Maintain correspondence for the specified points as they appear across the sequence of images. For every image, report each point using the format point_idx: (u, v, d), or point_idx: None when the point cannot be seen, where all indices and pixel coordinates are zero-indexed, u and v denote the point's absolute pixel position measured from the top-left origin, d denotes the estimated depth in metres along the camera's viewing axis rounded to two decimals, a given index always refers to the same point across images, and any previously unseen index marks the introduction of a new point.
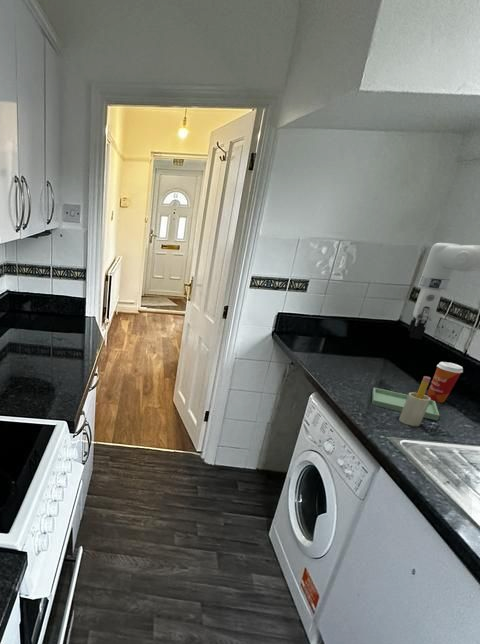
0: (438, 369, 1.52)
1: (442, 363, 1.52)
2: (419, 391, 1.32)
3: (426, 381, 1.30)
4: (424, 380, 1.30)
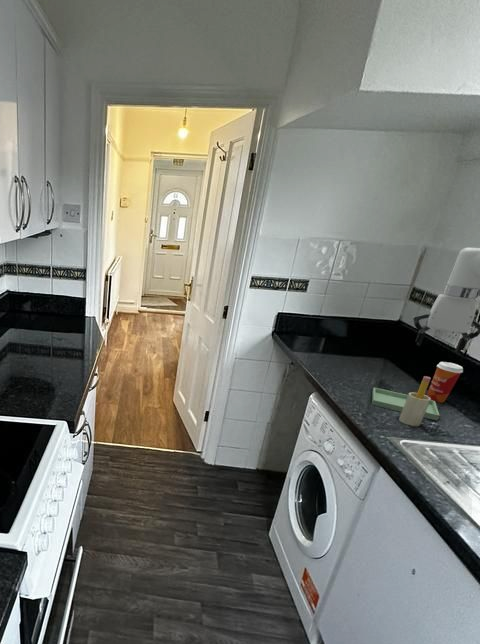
0: (438, 369, 1.52)
1: (442, 363, 1.52)
2: (419, 391, 1.32)
3: (426, 381, 1.30)
4: (424, 380, 1.30)
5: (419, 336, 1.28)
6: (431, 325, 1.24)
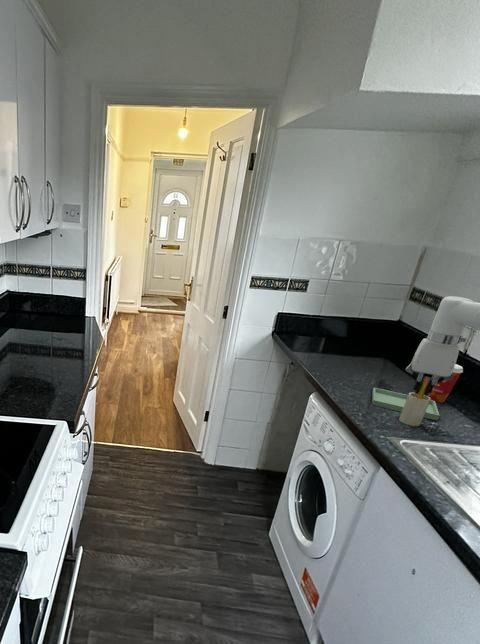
0: None
1: None
2: (419, 391, 1.32)
3: (426, 381, 1.30)
4: (424, 380, 1.30)
5: (417, 384, 1.31)
6: (416, 368, 1.29)
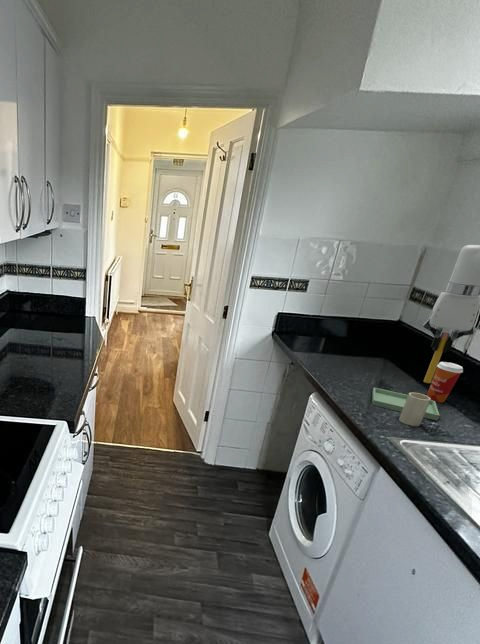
0: (438, 369, 1.52)
1: (442, 363, 1.52)
2: (437, 348, 1.26)
3: (445, 337, 1.24)
4: (443, 336, 1.24)
5: (435, 341, 1.26)
6: (434, 323, 1.23)
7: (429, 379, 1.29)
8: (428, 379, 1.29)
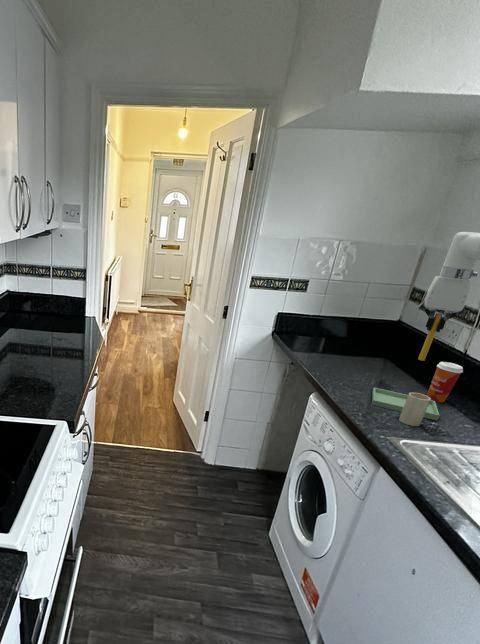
0: (438, 369, 1.52)
1: (442, 363, 1.52)
2: (431, 328, 1.37)
3: (438, 317, 1.35)
4: (436, 317, 1.35)
5: (429, 321, 1.36)
6: (428, 305, 1.34)
7: (423, 357, 1.40)
8: (422, 357, 1.40)
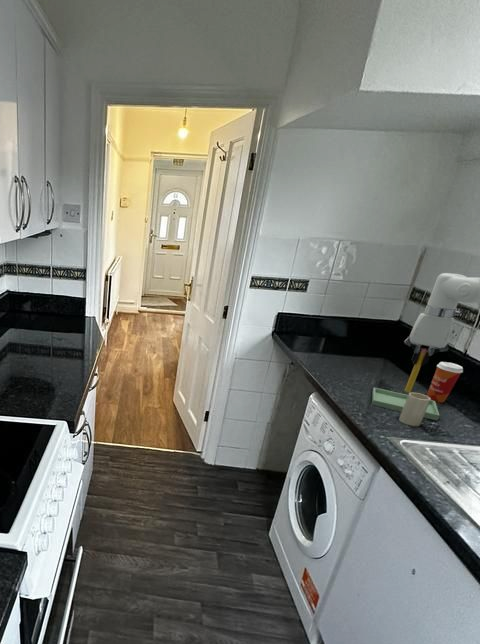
0: (438, 369, 1.52)
1: (442, 363, 1.52)
2: (417, 362, 1.43)
3: (423, 352, 1.41)
4: (421, 351, 1.41)
5: (414, 355, 1.43)
6: (413, 340, 1.40)
7: (409, 389, 1.46)
8: (408, 389, 1.47)
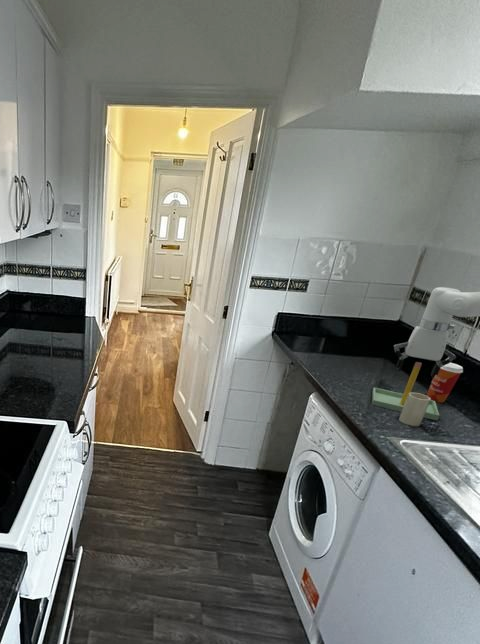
0: None
1: None
2: (411, 375, 1.45)
3: (418, 366, 1.43)
4: (416, 365, 1.43)
5: (399, 362, 1.45)
6: (409, 353, 1.42)
7: (404, 402, 1.48)
8: (403, 402, 1.49)
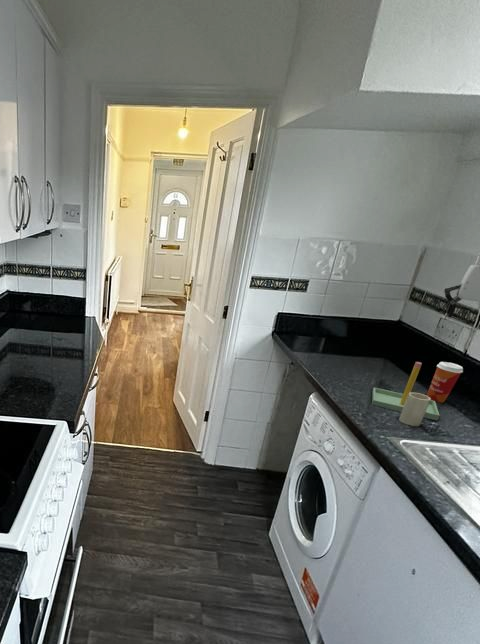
0: (438, 369, 1.52)
1: (442, 363, 1.52)
2: (411, 375, 1.45)
3: (418, 366, 1.43)
4: (416, 365, 1.43)
5: (450, 307, 1.30)
6: (463, 296, 1.26)
7: (404, 402, 1.48)
8: (403, 402, 1.49)
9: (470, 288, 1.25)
